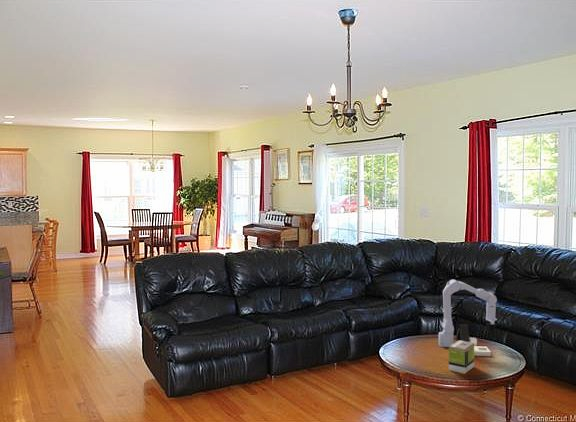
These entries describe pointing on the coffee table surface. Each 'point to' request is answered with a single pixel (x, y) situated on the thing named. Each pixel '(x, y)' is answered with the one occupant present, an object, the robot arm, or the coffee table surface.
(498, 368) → the coffee table surface
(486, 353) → the socket board
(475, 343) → the aluminium peg
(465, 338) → the door stopper
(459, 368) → the tea box
